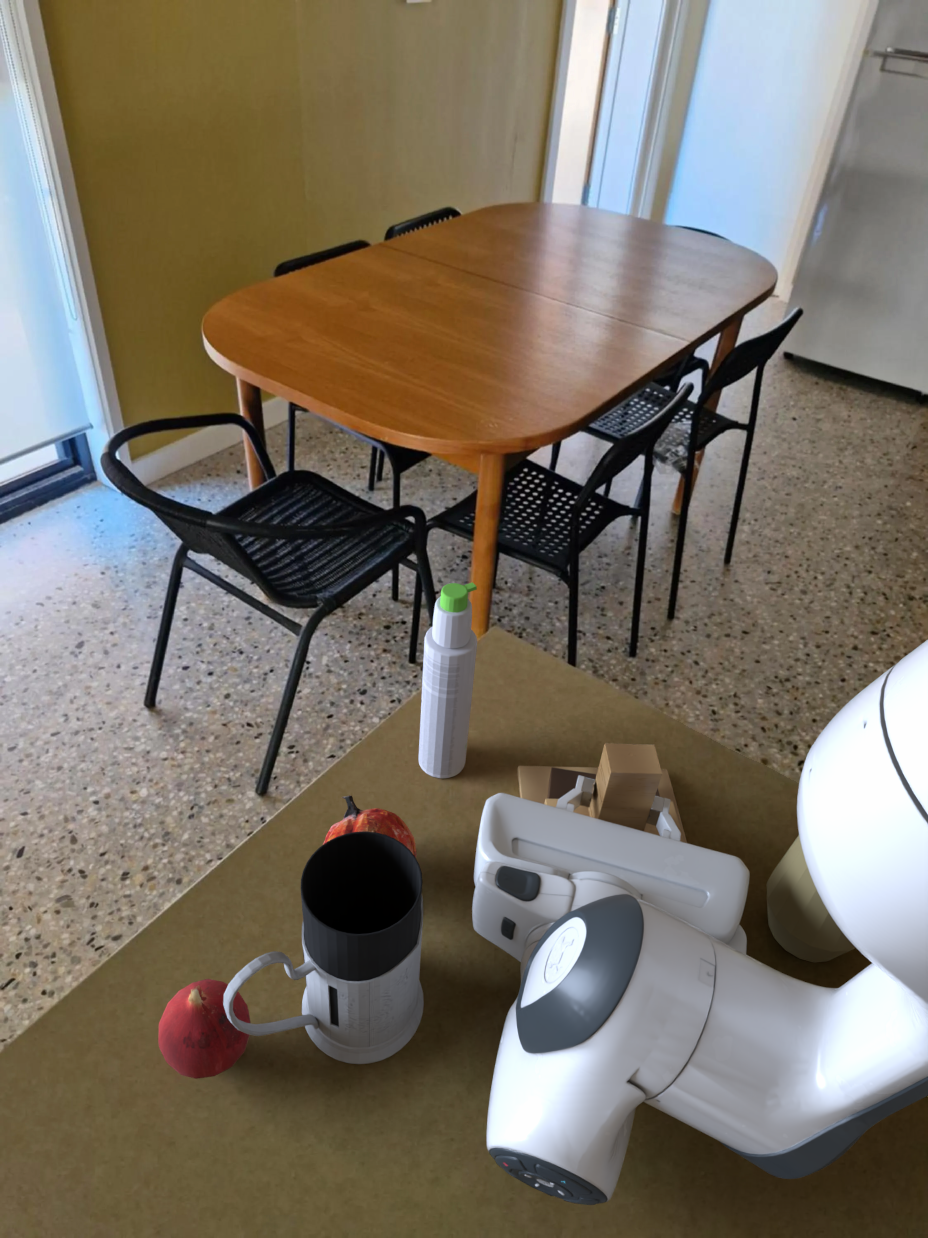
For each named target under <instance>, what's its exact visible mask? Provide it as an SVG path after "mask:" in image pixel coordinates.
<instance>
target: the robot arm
mask: <svg viewBox="0 0 928 1238" xmlns="http://www.w3.org/2000/svg"><path fill="white" fill-rule="evenodd" d="M583 781H584V782H583ZM595 782H596V780H595V779H591V778H588V777H585V778H584V776H581V775H579V776H578V779H577V783H576V787H575V789H572V790H571V791H569V792H568V793H567V794H565V795H564V796H562V797H561V798H560V799H558V801H557V805H556V807H553V806H549V805H545V804H542V803H538V802H534V801H531V800H527V799H523V798H520V796H516V795H512V794H509V793H505V792H497V793H495V794H494V795H492V796H490V797H488V798H487V799H486V800H485V803H484V806H483V809H482V812H481V818H480V822H479V829H478V836H477V841H476V849H475V851H476V852H475V859H474V870H473V882H474V883H473V884H474V886H475V888H474V891H473V897H472V904H471V906H472V907H471V911H472V912H471V914H472V915H471V916H472V927H473V930H474V931H475V932H476V933H477V934H478V935H480V936H481V937H482V938H484V939H485V940H486V941H488V942H490V943H492V944H493V945H495V946H496V947H498V948H499V949H501V950H502V951H504V952H506V954H508V955H510V956H512V957H513V958H514V959H515V960H517V961H518V962H520V967H519V969H520V970H519V971H520V986H519V991H518V995H517V996H516V998H515V1000H514V1001H513V1003H512V1005H511V1006H510V1008H509V1010H508V1012H507V1015H506V1017H505V1021H504V1024H503V1028H502V1032H501V1037H500V1041H499V1045H498V1049H497V1054H496V1059H495V1065H494V1069H493V1075H492V1081H491V1086H490V1087H491V1088H490V1092H489V1093H490V1094H489V1099H488V1110H487V1120H486V1149H487V1152H488V1153H489V1155H490V1156H491V1157H492V1159H493V1160H494V1161H495V1163H496V1165H497V1166H498V1167H500V1168H501V1169H502V1170H503V1171H504V1172H505V1173H507V1174H508V1175H509V1176H511V1177H513V1178H514V1179H516V1180H518V1181H520V1182H522V1183H523V1184H525V1185H527V1186H529V1187H531V1188H533V1189H535V1190H537V1191H539V1192H541V1193H543V1194H546V1195H548V1196H550V1197H554V1198H557V1199H562V1200H563V1201H564V1202H567V1203H571V1204H576V1205H585V1206H595V1205H598V1204H604V1203H608V1202H609V1201H610V1200H611V1199H612V1197H613V1195H614V1192H615V1190H616V1187H617V1184H618V1182H619V1177H620V1175H621V1172H622V1169H623V1164H624V1161H625V1158H626V1154H627V1149H628V1146H629V1141H630V1137H631V1134H632V1129H633V1124H634V1119H635V1115H636V1114H635V1113H636V1109H637V1108H638V1106H639V1105H641V1104H642V1103H645V1104H647V1105H648V1106H651V1107H653V1108H654V1109H656V1110H658V1111H660V1112H663V1113H664V1114H666V1115H668V1116H670V1117H672V1118H673V1119H675V1120H678V1121H680V1122H682V1123H683V1124H685V1125H687V1126H690V1127H691V1128H693V1129H695V1130H696V1131H699V1132H702V1133H703V1134H705V1135H706V1136H709V1137H711V1138H712V1139H714V1140H717V1141H718V1142H719V1143H721V1144H722V1145H723V1147H726V1148H727V1149H729V1150H730V1151H732V1152H733V1153H735V1154H737V1155H738V1156H740V1157H742V1158H743V1159H745V1160H746V1161H748V1162H749V1163H751V1164H753V1165H755V1166H756V1167H758V1168H759V1169H761V1170H762V1171H764V1172H766V1173H767V1174H769V1175H771V1176H773V1177H775V1178H779V1179H784V1180H795V1179H800V1178H805V1177H806V1176H810V1175H812V1174H815V1173H816V1172H817V1173H818V1172H819V1171H821V1170H823V1169H825V1168H826V1167H828V1166H830V1165H832V1164H833V1163H835V1162H836V1161H838V1160H839V1159H840V1158H841V1157H842V1156H844V1155H845V1154H846V1153H847V1152H848V1151H849V1150H850V1149H851V1148H852V1147H853V1146H854V1145H855V1144H856V1143H857V1142H858V1141H859V1140H860V1139H861V1137H862V1136H863V1135H864V1134H865V1133H866V1132H867V1131H868V1130H870V1129H871V1128H872V1127H873V1126H875V1125H877V1124H878V1123H879V1122H881V1121H882V1120H884V1119H886V1118H888V1117H889V1116H892V1115H893V1114H895V1113H896V1112H899V1111H901V1110H902V1109H905V1108H906V1107H908V1106H910V1105H913V1104H915V1103H917V1102H918V1101H920V1100H923V1099H924V1098H926V1097H928V639H926V640H925V641H924V642H922V643H921V644H919V645H918V646H917V647H916V648H914V649H913V650H912V651H910V652H909V653H908V654H906V655H905V656H904V657H903V658H902V659H900V660H899V661H898V662H897V663H895V664H894V665H893V666H892V667H890V668H889V669H887V670H886V671H885V672H884V673H882V674H881V675H879V677H877V678H875V680H874V681H872V682H871V683H869V684H868V685H867V686H866V687H864V688H863V689H862V690H861V691H859V693H858V692H857V694H856V695H855V696H854V697H852V698H851V699H850V700H849V701H848V702H847V703H846V704H845V705H844V706H843V707H842V708H841V709H839V711H838V712H837V713H835V715H834V716H833V717H832V719H831V720H830V721H829V722H828V723H827V724H826V725H825V727H824V729H822V731H821V732H820V733H819V735H818V736H817V738H816V739H815V740H814V742H813V744H812V745H811V746H810V749H809V751H808V753H807V754H806V757H805V760H804V764H803V767H802V769H801V774H800V777H799V781H798V788H797V799H796V817H797V819H796V820H797V829H798V835H799V837H800V842H801V846H802V850H803V854H804V857H805V861H806V864H807V867H808V870H809V872H810V875H811V877H812V880H813V882H814V885H815V887H816V889H817V891H818V893H819V895H820V897H821V899H822V901H823V903H824V905H825V907H826V908H827V910H828V912H829V913H830V915H831V917H832V918H833V920H834V921H835V923H836V924H837V926H838V927H839V928H840V930H841V931H842V932H843V934H844V935H845V936H846V937H847V938H848V940H849V941H850V942H851V943H852V944H853V945H854V946H855V947H856V948H855V949H856V950H858V951H859V953H860V954H861V955H863V956H864V957H865V958H866V959H867V960H868V961H869V962H871V963H870V964H869V965H867V966H866V967H864V969H862V970H861V971H860V972H858V973H857V974H856V975H854V976H853V977H852V978H850V979H849V980H848V981H847V982H845V983H844V984H842V985H841V986H839V987H827V986H826V987H825V986H822V985H821V986H820V985H817V984H814V983H810V982H805V981H803V980H801V979H798V978H795V977H793V976H791V975H787V974H786V973H782V972H781V971H779V970H776V969H774V968H773V967H771V966H769V965H767V964H766V963H764V962H761V961H759V960H757V959H755V958H754V957H752V956H749V954H747V953H748V940H747V934H746V932H745V930H744V929H743V927H742V926H741V924H740V923H741V920H742V917H743V914H744V910H745V906H746V902H747V897H748V892H749V885H750V870H749V869H748V867H747V865H746V864H745V863H744V862H743V860H742V859H741V858H740V857H738V856H736V855H733V854H728V853H725V852H721V851H717V850H713V849H711V848H706V847H702V846H700V845H695V844H691V843H689V842H687V843H684V842H681V841H680V837H681V832H680V831H679V829H678V827H677V825H676V824H675V822H674V820H673V818H672V817H671V815H670V814H669V808H670V801H671V800H670V799H667V798H664V797H660V796H656V795H655V798H654V801H653V804H652V807H651V808H650V811H649V817H648V818H647V821H646V823H648V824H651V825H655V826H656V828H657V830H658V832H659V834H660V836H659V835H655V834H651V833H648V832H644V831H640V830H637V829H633V828H629V827H626V826H622V825H618V824H615V823H611V822H607V821H604V820H600V819H597V818H593V817H589V816H586V815H582V814H578V813H575V812H573V811H574V810H575V809H576V808H577V807H579V806H580V805H581V806H585V807H590V803H591V799H592V795H593V791H594V787H595Z"/></svg>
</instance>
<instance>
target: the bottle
mask: <svg viewBox="0 0 928 1238" xmlns="http://www.w3.org/2000/svg"><path fill="white" fill-rule="evenodd" d="M477 587H478V586H477V585H476V584H475V583H474V582H472V581H471V582H469V583H465V584H461V583H457V582H451V583H447V584H445V585H443V587H441V591H440V596H439V597H438V598H437V599H436V600H435V603H434V608H433V616H432V626H431V627H430V628H429V629H428V630H427V631H426V633H425V635H424V641H423V662H422V663H423V664H422V681H421V682H422V683H421V701H420V718H419V719H420V723H419V740H418V741H419V743H418V744H419V745H418V764H419V766H420V769H421V770H422V771H423V772H424V773H425V774H426V775H428V776H430V777H432V778H435V779H436V778H437V779H450V778H453V777H455V776H457V775H459V774H460V773H461V772H462V770H463V769H464V768H465V765H466V760H467V759H466V758H467V751H468V741H469V732H470V731H469V728H470V721H471V720H470V719H471V710H472V701H473V700H472V698H473V689H474V681H475V669H476V661H477V659H476V658H477V651H478V637H477V634H476V633H475V632H474V630H473V629H472V625H473V605H472V604H473V603H472V602H471V600H470V599H469V593H471V592H474V591H476V590H477V589H478V588H477Z"/></svg>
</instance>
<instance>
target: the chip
mask: <svg viewBox="0 0 928 1238" xmlns="http://www.w3.org/2000/svg"><path fill="white" fill-rule="evenodd" d="M551 767H552V768H551V773H550V778H549V785H548V796H547V799H560V798H561V797H562V796H564V795H565V794H567V793H568V792H569V791H571V790H572V789H575V787H576V783H577V779H578V776H579V775H581V776H584V778H585V777H588V778H591V779H595V780H596V774H592V773H586V772H579V771H573V770H566V769H560V768H554V767H555V766H551ZM583 782H584V781H583Z"/></svg>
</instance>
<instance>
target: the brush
mask: <svg viewBox="0 0 928 1238" xmlns="http://www.w3.org/2000/svg"><path fill="white" fill-rule="evenodd" d="M658 756H659V755H658V753H657V748H656V745H655V744H648V743H647V744H644V743H643V744H640V743H612V742H611V743H608V742H604V744H603V748H602V752H601V756H600V759H599V764H598V767H597V768H598V772H597V776H596V782H595V787H594V791H593V795H592V799H591V803H590V807H585V806H581V805H580V806H579V807H577V808H576V809H575V810H574V811H573V812H575V813H578V814H582V815H586V816H589V817H593V818H597V819H600V820H604V821H607V822H611V823H615V824H618V825H622V826H626V827H629V828H633V829H637V830H640V831H644V832H648V833H651V834H655V835H659V836H660V834H659V832H658V830H657V828H656V826H655V825H651V824H648V823H646V821H647V818H648V817H649V811H650V808H651V807H652V804H653V801H654V798H655V795H656V792H657V789H658V785H659V782H660V779H661V776H662V771H661V769H662V768H661V764H660V760H659V757H658ZM557 801H558V799H545V805H549V806H553V807H556V805H557ZM669 814H670V815H671V817H672V818H673V820H674V822H675V824H676V825H677V827H678V829H679V831H680V832H681V829H680V825H679V822H678V818H677V814H676V810H675V807H674V803H673V802H671V801H670V808H669ZM680 841H681V842H684V840H683V836H682V833H681V837H680Z"/></svg>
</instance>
